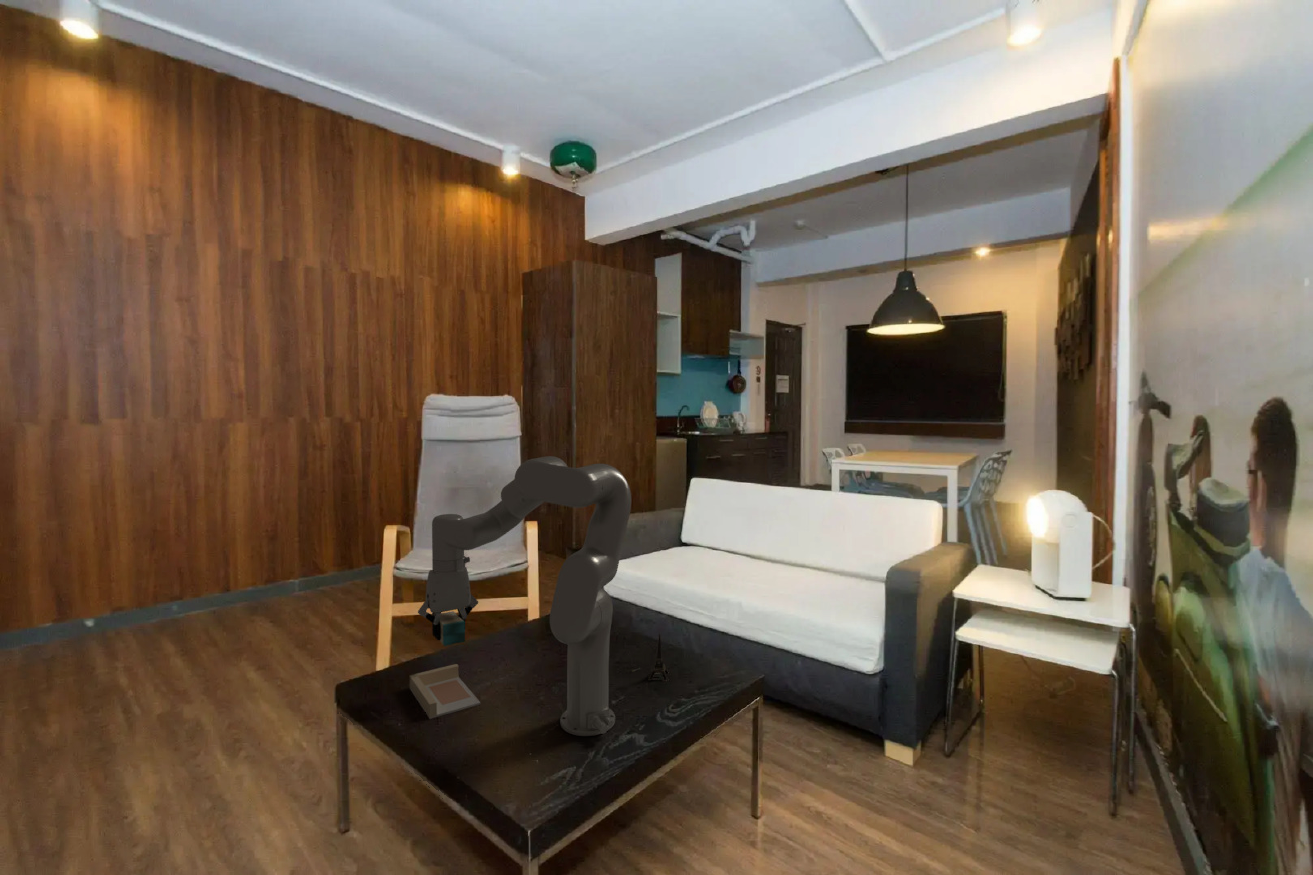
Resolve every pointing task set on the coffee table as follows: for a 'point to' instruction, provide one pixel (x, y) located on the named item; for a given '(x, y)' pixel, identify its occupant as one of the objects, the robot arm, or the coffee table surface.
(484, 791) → the coffee table surface
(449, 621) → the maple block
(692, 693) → the coffee table surface
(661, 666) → the eiffel tower figurine
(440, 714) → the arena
